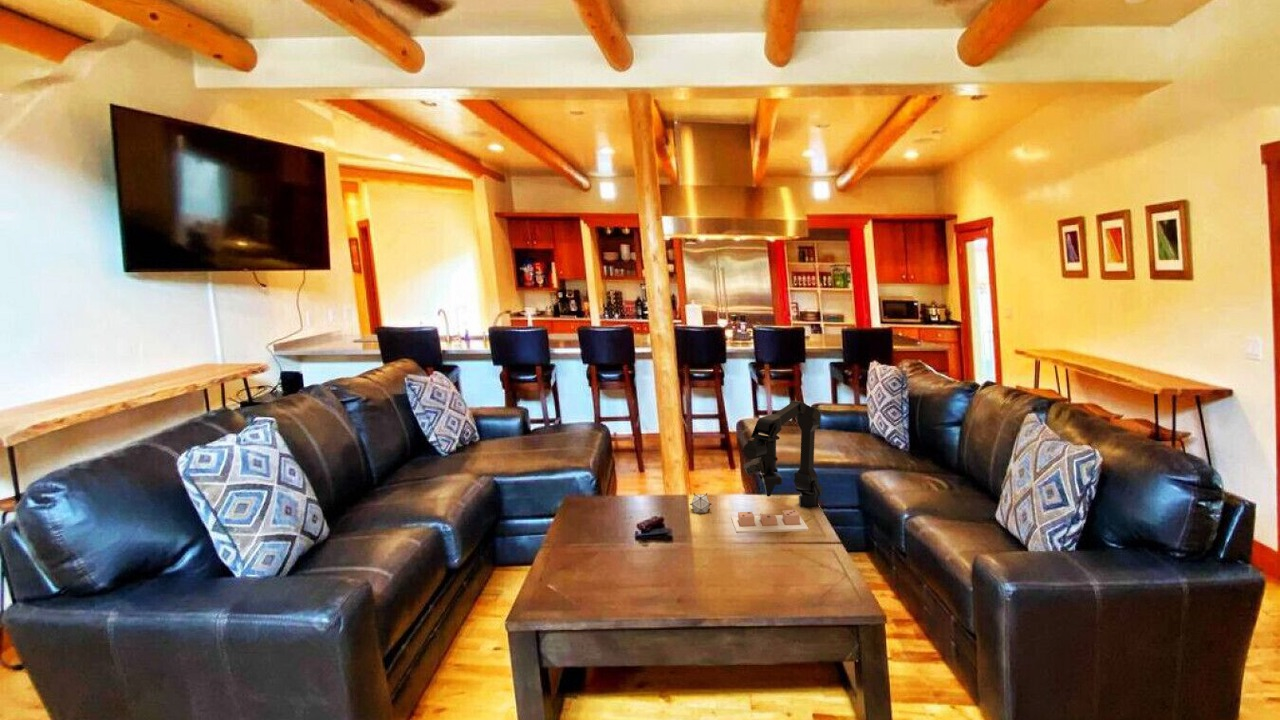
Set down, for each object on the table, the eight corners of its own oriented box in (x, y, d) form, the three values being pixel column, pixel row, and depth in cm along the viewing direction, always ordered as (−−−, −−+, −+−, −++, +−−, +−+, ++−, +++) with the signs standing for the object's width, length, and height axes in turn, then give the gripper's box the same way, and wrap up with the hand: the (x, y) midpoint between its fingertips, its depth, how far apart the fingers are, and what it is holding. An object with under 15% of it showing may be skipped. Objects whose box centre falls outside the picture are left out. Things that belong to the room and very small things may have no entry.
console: (799, 519, 223) (799, 514, 223) (808, 534, 210) (808, 528, 210) (731, 521, 223) (731, 516, 223) (736, 536, 210) (736, 531, 210)
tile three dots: (796, 520, 219) (796, 509, 218) (799, 526, 214) (799, 515, 213) (782, 521, 219) (782, 510, 218) (785, 526, 214) (785, 515, 213)
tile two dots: (752, 522, 219) (752, 511, 218) (754, 527, 214) (754, 516, 213) (738, 522, 219) (738, 511, 218) (740, 528, 214) (740, 517, 214)
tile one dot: (774, 524, 219) (774, 513, 218) (777, 530, 214) (777, 518, 213) (760, 524, 219) (760, 514, 218) (763, 530, 214) (763, 519, 214)
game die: (696, 523, 233) (681, 500, 235) (713, 511, 236) (699, 489, 238) (702, 519, 225) (687, 496, 227) (720, 507, 227) (705, 484, 230)
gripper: (741, 447, 222) (741, 488, 224) (749, 462, 204) (750, 506, 206) (771, 446, 222) (771, 487, 224) (782, 460, 204) (782, 505, 206)
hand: (768, 496), depth 215 cm, fingers closed
